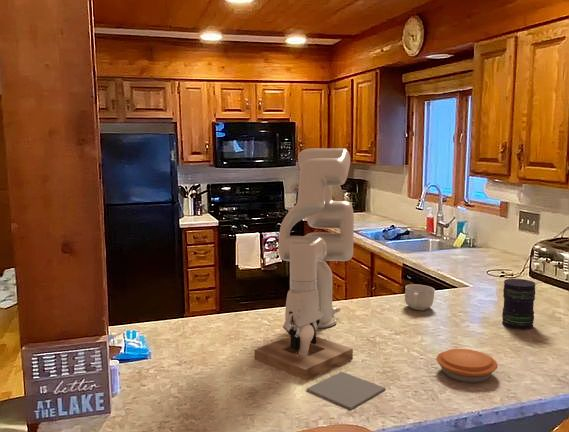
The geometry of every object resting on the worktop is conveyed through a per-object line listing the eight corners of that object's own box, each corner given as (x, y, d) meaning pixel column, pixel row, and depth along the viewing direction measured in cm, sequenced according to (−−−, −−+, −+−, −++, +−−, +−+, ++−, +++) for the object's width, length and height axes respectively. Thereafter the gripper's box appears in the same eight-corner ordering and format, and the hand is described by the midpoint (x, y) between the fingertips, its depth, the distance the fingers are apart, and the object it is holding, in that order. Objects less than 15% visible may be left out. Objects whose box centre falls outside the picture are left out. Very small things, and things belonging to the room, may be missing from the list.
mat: (341, 373, 141) (341, 371, 141) (385, 389, 131) (385, 387, 131) (306, 390, 131) (306, 388, 131) (350, 409, 122) (351, 407, 122)
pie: (429, 362, 148) (430, 345, 148) (485, 362, 148) (485, 345, 147) (444, 386, 133) (445, 367, 132) (506, 387, 133) (507, 368, 132)
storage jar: (525, 332, 171) (527, 287, 169) (496, 325, 178) (498, 282, 176) (538, 325, 177) (541, 282, 175) (510, 318, 185) (512, 277, 183)
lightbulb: (303, 353, 155) (303, 317, 154) (318, 358, 151) (318, 322, 150) (288, 359, 151) (288, 322, 150) (304, 365, 147) (303, 327, 145)
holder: (301, 341, 165) (301, 331, 165) (352, 358, 151) (352, 348, 151) (254, 359, 151) (254, 349, 151) (305, 380, 137) (305, 369, 137)
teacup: (411, 302, 205) (411, 282, 204) (438, 306, 199) (439, 286, 198) (396, 311, 194) (396, 290, 193) (424, 316, 188) (425, 294, 187)
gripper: (313, 277, 157) (313, 335, 159) (271, 288, 145) (272, 350, 147) (333, 281, 152) (332, 341, 154) (291, 293, 140) (291, 358, 142)
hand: (303, 345), depth 150 cm, fingers closed on lightbulb, 6 cm apart
